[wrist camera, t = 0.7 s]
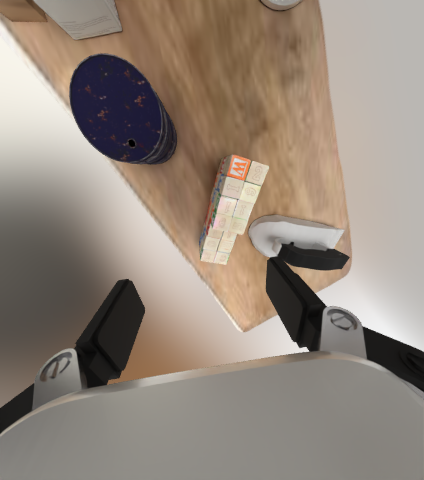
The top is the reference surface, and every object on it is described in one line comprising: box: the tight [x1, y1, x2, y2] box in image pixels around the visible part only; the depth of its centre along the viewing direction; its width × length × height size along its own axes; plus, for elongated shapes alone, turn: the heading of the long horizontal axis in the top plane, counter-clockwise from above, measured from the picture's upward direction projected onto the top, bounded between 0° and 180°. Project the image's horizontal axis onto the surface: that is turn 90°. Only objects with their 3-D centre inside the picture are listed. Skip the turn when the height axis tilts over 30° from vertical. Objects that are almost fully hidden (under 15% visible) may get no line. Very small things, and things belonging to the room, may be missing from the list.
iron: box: [248, 215, 350, 270], centre depth 37 cm, size 11×24×15 cm, turn 79°
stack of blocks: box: [199, 155, 269, 265], centre depth 33 cm, size 21×6×12 cm, turn 165°
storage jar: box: [69, 53, 177, 165], centre depth 24 cm, size 10×10×15 cm
